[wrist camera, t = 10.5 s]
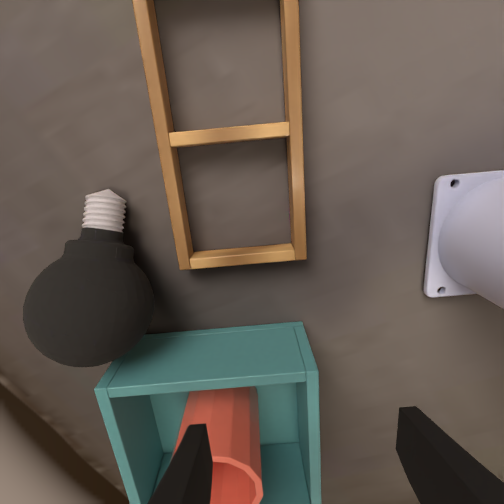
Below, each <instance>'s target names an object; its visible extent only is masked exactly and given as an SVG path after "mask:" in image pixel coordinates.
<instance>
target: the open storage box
mask: <svg viewBox="0 0 504 504" xmlns="http://www.w3.org/2000/svg"><path fill="white" fill-rule="evenodd" d="M249 386H255V387H256V389H257V392H258V400H259V412H260V433H261V454H262V475H263V497H262V499H261V501H260V503H259V504H321V461H320V413H319V371H318V368H317V365H316V362H315V359H314V356H313V353H312V350H311V347H310V344H309V341H308V338H307V335H306V332H305V329H304V326H303V323H302V321H299V322H288V323H276V324H264V325H252V326H240V327H229V328H217V329H205V330H193V331H182V332H170V333H158V334H146V335H144V336H143V337H142V339H141V340H140V341H139V342H138V343H137V344H136V345H135V346H134V347H133V348H132V349H131V350H130V351H128V352H127V353H126V354H124V355H123V356H121V357H119V358H117V359H115V360H113V362H112V363H111V365H110V366H109V368H108V369H107V371H106V372H105V374H104V375H103V377H102V378H101V380H100V381H99V383H98V384H97V386H96V387H95V389H94V391H95V394H96V397H97V400H98V404H99V407H100V410H101V413H102V416H103V419H104V423H105V426H106V429H107V432H108V435H109V438H110V442H111V445H112V448H113V451H114V454H115V457H116V460H117V464H118V467H119V470H120V473H121V476H122V479H123V483H124V486H125V489H126V492H127V495H128V498H129V501H130V504H147V503H148V501H149V500H150V498H151V496H152V495H153V493H154V491H155V489H156V488H157V486H158V484H159V482H160V480H161V479H162V477H163V475H164V473H165V471H166V470H167V468H168V466H169V464H170V461H171V457H172V453H173V449H174V445H175V441H176V437H177V433H178V429H179V426H180V422H181V418H182V414H183V410H184V406H185V402H186V399H187V396H188V392H189V391H200V390H212V389H224V388H236V387H249Z"/></svg>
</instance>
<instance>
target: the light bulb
mask: <svg viewBox="0 0 504 504" xmlns="http://www.w3.org/2000/svg"><path fill="white" fill-rule="evenodd" d="M85 199H86V200H87V201H86V202H85V205H86V207H85V208H84V210H85V211H86V212H85V213H84V214H83V215H84V216H85V218H84V219H83V221H84V222H85V223H84V224H83V225H82V227H84V228H82V231H81V237H80V238H79V239H78V240H69V241H67V242H66V243H65V250H64V254H63V256H62V257H61V258H60V259H58V260H57V261H55V262H53V263H52V264H50V265H49V266H48V267H47V268H45V269H44V270H43V271H42V272H41V273H40V274H39V275H38V276H37V277H36V279H35V280H34V282H33V283H32V285H31V287H30V289H29V291H28V293H27V295H26V299H25V302H24V306H23V321H24V326H25V330H26V332H27V335H28V337H29V339H30V340H31V342H32V343H33V344H34V346H35V347H36V348H37V349H38V350H39V351H40V352H41V353H42V354H43V355H45V356H46V357H48V358H50V359H52V360H54V361H56V362H58V363H60V364H63V365H68V366H73V367H93V366H99V365H102V364H105V363H108V362H111V361H113V360H115V359H117V358H119V357H121V356H123V355H124V354H126V353H127V352H128V351H130V350H131V349H132V348H133V347H134V346H135V345H136V344H137V343H138V342H139V341H140V340H141V339H142V337H143V336H144V334H145V333H146V331H147V330H148V327H149V325H150V323H151V320H152V316H153V311H154V296H153V291H152V288H151V284H150V282H149V280H148V279H147V277H146V275H145V274H144V273H143V271H142V270H141V269H140V268H139V267H138V266H137V265H136V264H135V263H134V260H133V257H134V249H133V247H131V246H129V245H125V244H124V243H123V232H122V229H124V227H123V226H122V224H123V223H125V222H124V221H123V218H125V216H124V215H123V214H124V213H126V212H125V210H124V208H126V206H125V203H126V201H125V200H124V199H123V198H121V197H120V196H118V195H117V194H115V193H114V192H112V191H111V190H109V189H107V190H103V191H100V192H96V193H93V194H89V195H87V196H86V197H85Z"/></svg>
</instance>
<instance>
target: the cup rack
mask: <svg viewBox="0 0 504 504" xmlns="http://www.w3.org/2000/svg"><path fill="white" fill-rule="evenodd" d="M132 2H133V8H134V13H135V19H136V25H137V31H138V36H139V42H140V48H141V53H142V59H143V65H144V70H145V76H146V82H147V87H148V93H149V99H150V104H151V110H152V116H153V121H154V127H155V133H156V138H157V144H158V150H159V155H160V161H161V167H162V172H163V178H164V184H165V189H166V195H167V201H168V206H169V212H170V218H171V223H172V229H173V235H174V240H175V246H176V252H177V257H178V263H179V269H180V270H189V269H201V268H212V267H223V266H235V265H246V264H258V263H269V262H280V261H292V260H306V259H307V253H306V222H305V190H304V158H303V126H302V95H301V63H300V31H299V0H280V15H281V36H282V57H283V78H284V99H285V120H286V122H279V123H268V124H257V125H247V126H236V127H225V128H215V129H204V130H193V131H183V132H174V127H173V120H172V114H171V108H170V101H169V95H168V89H167V82H166V76H165V70H164V63H163V57H162V51H161V44H160V38H159V32H158V25H157V19H156V12H155V6H154V0H132ZM277 138H286V141H287V162H288V183H289V204H290V224H291V243H289V244H277V245H266V246H255V247H243V248H232V249H221V250H209V251H198V252H194V253H193V247H192V241H191V234H190V228H189V222H188V215H187V209H186V203H185V196H184V190H183V184H182V177H181V171H180V165H179V158H178V152H177V148H180V147H191V146H201V145H212V144H223V143H234V142H244V141H255V140H266V139H277Z"/></svg>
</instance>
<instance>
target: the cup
mask: <svg viewBox="0 0 504 504" xmlns="http://www.w3.org/2000/svg"><path fill="white" fill-rule="evenodd" d="M203 423H206V426H207V432H208V437H209V443H210V449H211V454H212V460H213V473H212V489H211V500H210V504H259V503H260V501H261V499H262V497H263V475H262V454H261V433H260V412H259V400H258V392H257V389H256V387H255V386H249V387H236V388H224V389H212V390H200V391H189V392H188V396H187V399H186V402H185V406H184V410H183V414H182V418H181V422H180V426H179V429H178V433H177V437H176V441H175V445H174V449H173V453H172V457H171V460H172V458H173V456H174V454H175V452H176V450H177V448H178V446H179V444H180V442H181V440H182V438H183V436H184V434H185V431H186V429H187V427H188V426H189V425H191V424H203ZM170 462H171V461H170Z"/></svg>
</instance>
